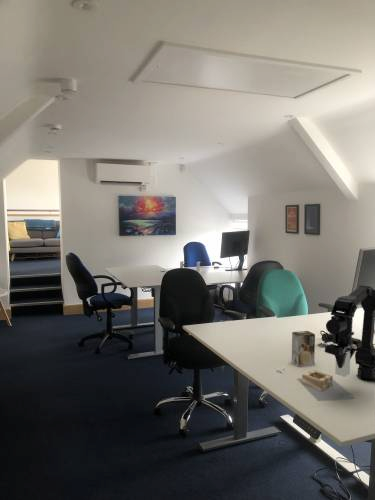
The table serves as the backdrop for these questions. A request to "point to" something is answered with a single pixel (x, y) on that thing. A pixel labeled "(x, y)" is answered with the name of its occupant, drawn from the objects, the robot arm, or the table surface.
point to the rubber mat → (329, 392)
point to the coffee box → (303, 348)
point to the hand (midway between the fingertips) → (342, 366)
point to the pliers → (280, 370)
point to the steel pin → (344, 365)
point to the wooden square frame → (317, 380)
